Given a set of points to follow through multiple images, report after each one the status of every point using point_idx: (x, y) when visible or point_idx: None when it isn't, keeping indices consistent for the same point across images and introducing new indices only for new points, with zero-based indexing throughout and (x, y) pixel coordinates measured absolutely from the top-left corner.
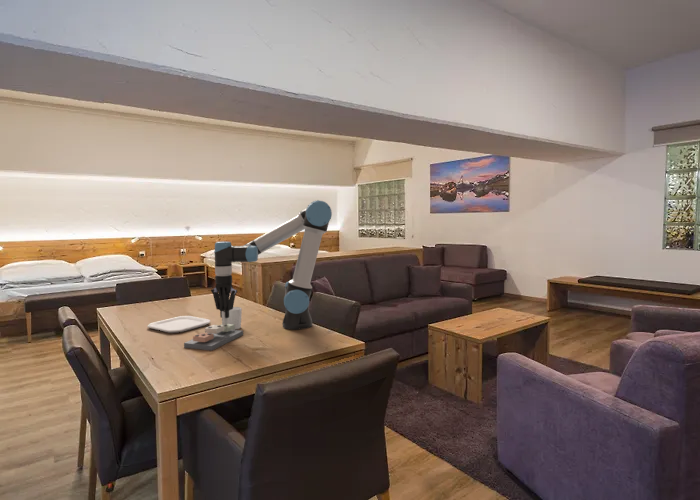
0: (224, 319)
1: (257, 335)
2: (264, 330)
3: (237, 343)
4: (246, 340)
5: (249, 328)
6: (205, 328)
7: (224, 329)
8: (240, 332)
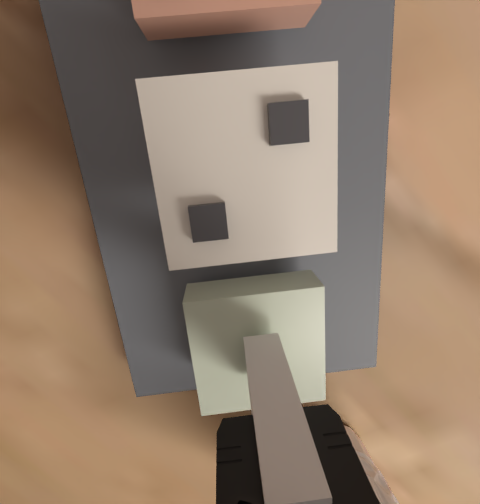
0: (249, 384)
1: (37, 401)
2: (88, 493)
3: (2, 185)
4: (6, 279)
5: (214, 486)
6: (326, 64)
7: (215, 289)
8: (129, 361)
